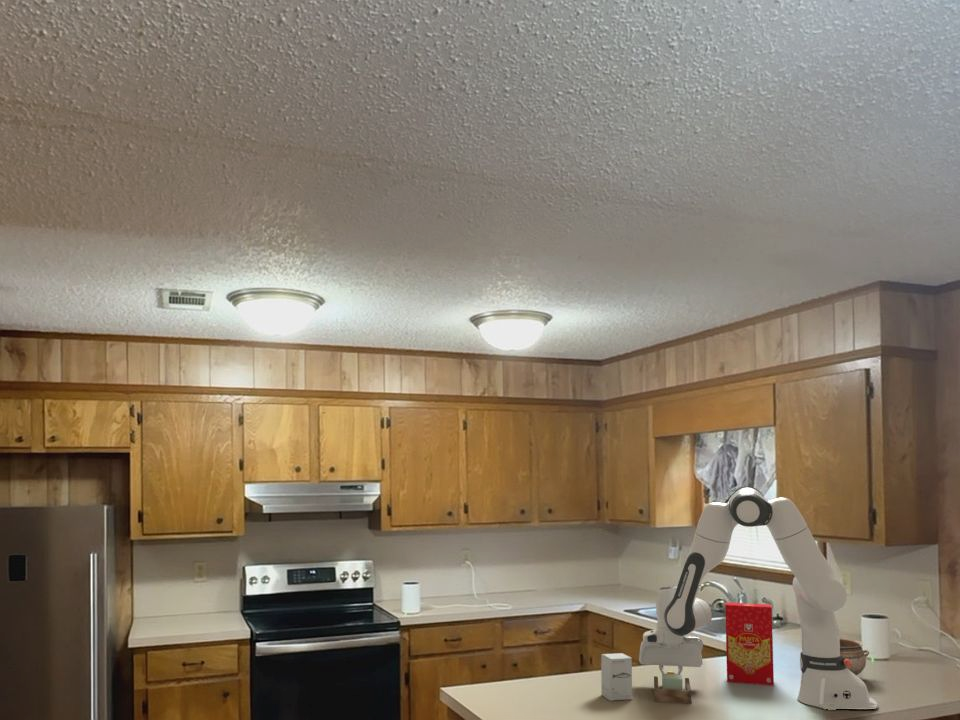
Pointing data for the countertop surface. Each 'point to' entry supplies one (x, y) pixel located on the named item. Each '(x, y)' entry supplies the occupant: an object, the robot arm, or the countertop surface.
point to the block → (671, 681)
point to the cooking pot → (853, 654)
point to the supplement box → (616, 676)
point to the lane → (672, 693)
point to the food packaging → (749, 643)
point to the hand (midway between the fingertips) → (670, 679)
